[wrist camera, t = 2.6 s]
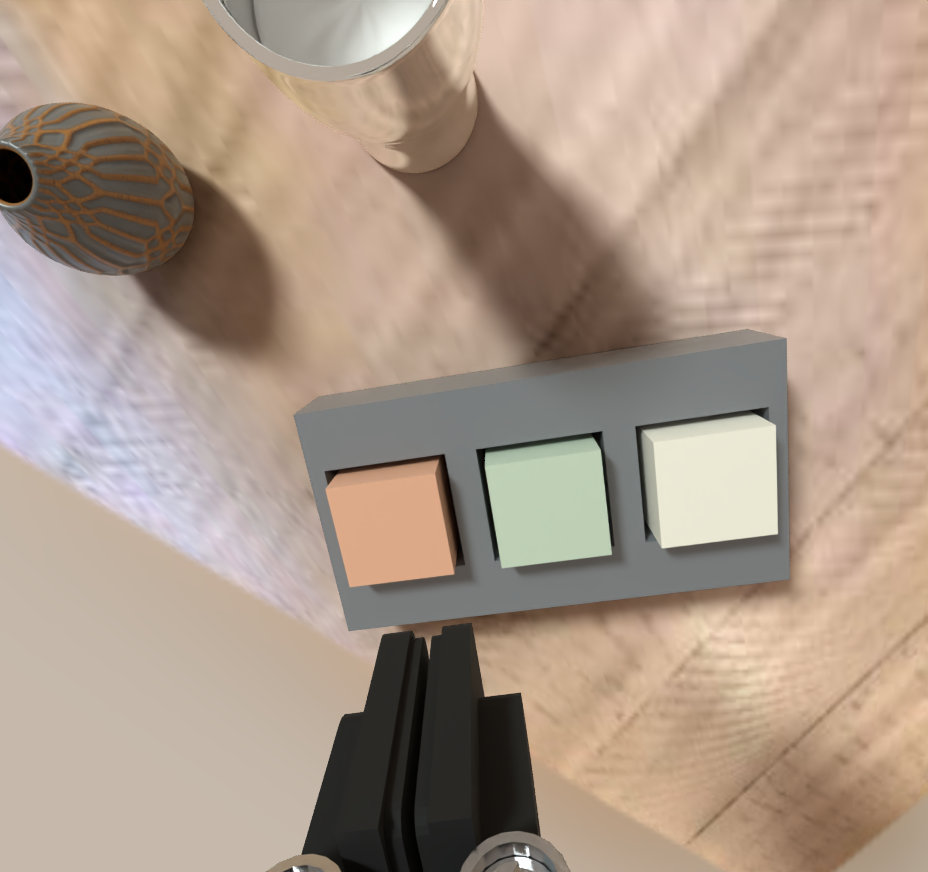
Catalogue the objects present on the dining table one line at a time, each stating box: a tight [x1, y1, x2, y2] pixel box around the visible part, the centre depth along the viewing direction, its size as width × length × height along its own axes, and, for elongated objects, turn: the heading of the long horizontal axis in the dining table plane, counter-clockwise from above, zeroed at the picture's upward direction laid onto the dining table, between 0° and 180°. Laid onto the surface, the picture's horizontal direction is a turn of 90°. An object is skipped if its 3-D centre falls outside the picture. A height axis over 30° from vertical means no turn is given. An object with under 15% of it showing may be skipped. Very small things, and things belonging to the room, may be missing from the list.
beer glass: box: [203, 0, 484, 173], centre depth 20 cm, size 7×7×15 cm
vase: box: [0, 103, 194, 276], centre depth 24 cm, size 7×7×9 cm
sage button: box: [485, 433, 612, 568], centre depth 28 cm, size 5×5×4 cm
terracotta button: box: [325, 454, 459, 587], centre depth 29 cm, size 5×5×4 cm
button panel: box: [294, 329, 790, 631], centre depth 30 cm, size 23×12×4 cm, turn 99°
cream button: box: [635, 410, 778, 548], centre depth 27 cm, size 5×5×4 cm
